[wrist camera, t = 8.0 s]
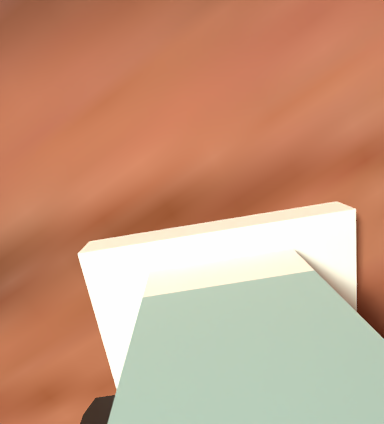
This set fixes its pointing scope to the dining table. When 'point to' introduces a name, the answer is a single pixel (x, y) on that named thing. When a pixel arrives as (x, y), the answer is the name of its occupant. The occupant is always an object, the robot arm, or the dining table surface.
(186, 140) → the dining table surface
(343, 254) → the pinboard
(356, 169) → the dining table surface
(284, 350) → the sleeve
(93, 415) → the robot arm
